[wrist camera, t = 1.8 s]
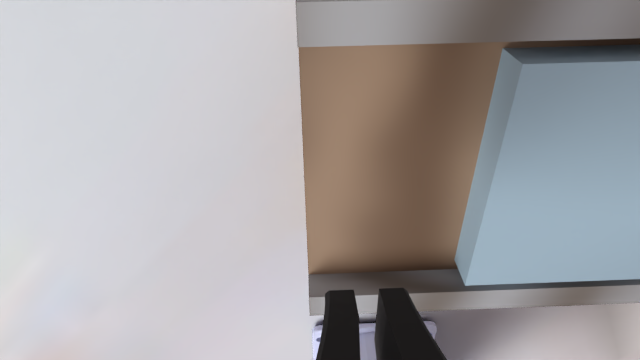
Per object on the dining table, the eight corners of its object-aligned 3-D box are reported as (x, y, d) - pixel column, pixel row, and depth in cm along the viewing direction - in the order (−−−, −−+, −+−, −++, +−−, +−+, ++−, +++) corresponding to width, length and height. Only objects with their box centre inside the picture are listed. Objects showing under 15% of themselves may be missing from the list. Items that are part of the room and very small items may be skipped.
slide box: (308, 234, 23) (309, 315, 19) (297, -30, 16) (295, 2, 11) (705, 220, 24) (798, 296, 19) (876, -43, 16) (1089, -17, 12)
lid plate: (454, 259, 19) (464, 285, 18) (502, 48, 14) (523, 64, 12) (675, 251, 19) (701, 276, 18) (808, 40, 14) (858, 55, 13)
